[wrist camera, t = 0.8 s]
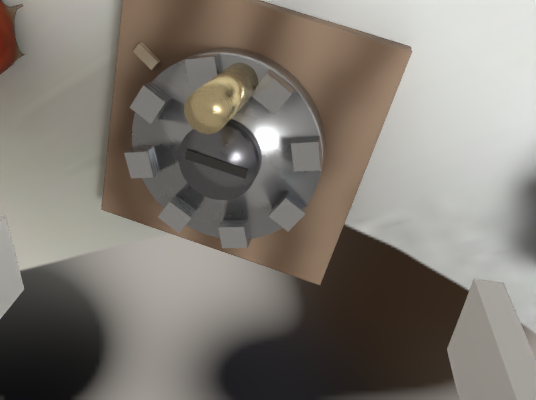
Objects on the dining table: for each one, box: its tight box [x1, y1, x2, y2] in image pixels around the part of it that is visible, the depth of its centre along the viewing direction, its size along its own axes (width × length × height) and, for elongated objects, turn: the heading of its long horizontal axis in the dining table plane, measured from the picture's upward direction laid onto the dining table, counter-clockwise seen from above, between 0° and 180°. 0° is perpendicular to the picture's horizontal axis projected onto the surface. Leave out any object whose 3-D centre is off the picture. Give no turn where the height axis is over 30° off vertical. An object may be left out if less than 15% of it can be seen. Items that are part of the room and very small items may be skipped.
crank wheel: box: [124, 48, 325, 248], centre depth 33 cm, size 14×14×10 cm
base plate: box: [101, 0, 412, 285], centre depth 38 cm, size 20×20×2 cm
